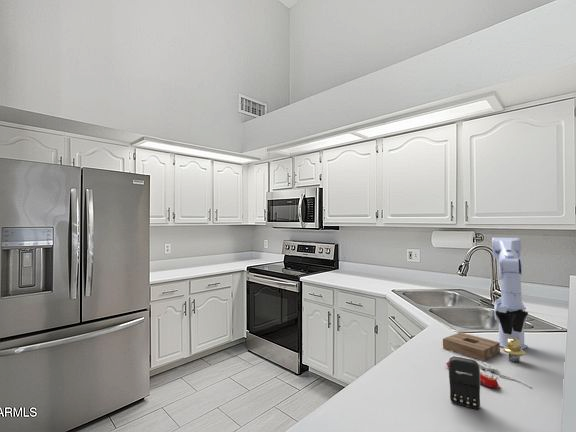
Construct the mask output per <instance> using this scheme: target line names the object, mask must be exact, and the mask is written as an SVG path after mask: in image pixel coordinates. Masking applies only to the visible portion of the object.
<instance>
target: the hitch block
mask: <svg viewBox="0 0 576 432" xmlns="http://www.w3.org/2000/svg"><path fill="white" fill-rule="evenodd" d="M442 348H443V349H444V350H448V351H451V352H453V353H457V354H460V355H462V356H463V355H464V356H465V357H466V356H467V357H469V358H472V359H477V360H480V361H482V362H486V360H488V359H490V358H492V357H494V356H496V355H498V354H499V353H501V347H500V342H499V341H496V340H492V339H488V338H484V337H480V336H478V335H477V336H476V335H473V334H469V333H465V332H461V331H460V332H458V333H454V334H451V335H449V336H446V337H444V338H442Z"/></svg>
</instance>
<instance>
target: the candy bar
mask: <svg viewBox="0 0 576 432" xmlns="http://www.w3.org/2000/svg"><path fill="white" fill-rule="evenodd" d="M445 365H446V366H447V367H448V368H449V360H448V361H447V362H446V363H445ZM493 378H494V377H493V376H492V377H490V376H488V375H486V373H483V372H481V371H480V385H481V384H482V385H484V386H486V387H489V388H495V389H496V388H498V387H497V386H499V387H501V386H500V385H499V383H498V381H497V379H496V380H495V379H493Z"/></svg>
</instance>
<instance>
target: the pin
mask: <svg viewBox="0 0 576 432" xmlns="http://www.w3.org/2000/svg"><path fill="white" fill-rule="evenodd" d="M507 346H508V347H502V349H503V352H504V353H507V354H508V361H509V362H511V363H515V364H520V362H521V359H520V358H521V356H526V351H525V350H524V349H521V348H520V340H519V339H516V338H507Z"/></svg>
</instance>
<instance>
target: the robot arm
mask: <svg viewBox="0 0 576 432" xmlns="http://www.w3.org/2000/svg"><path fill="white" fill-rule="evenodd" d="M491 246H492V248H491V249H492V256H493V258H494V260H497V261H498V272H499V278H500V295H501V296H500V297H499V298H497V299H495V300H494V305H493V306H494V307H493V308H494V310H493V313H494V320H495V321H498V342H500V348H503V347H508V346H507V338H516V339H519V340H520V348H521V349H522V350H524V349H526V348H527V347H529V346H528V344H526V343H525V329H524V325H525V324H526V323H527V322H526V321H527V316H528V315H529V312H528V311H526V310H527V307H525V305H524V303H523V302H522V280H521V278H522V277H521V276H522V274H523V264H522V259H521V251H522V242H521V238H520V237H494V236H493V237H492V238H491Z"/></svg>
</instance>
